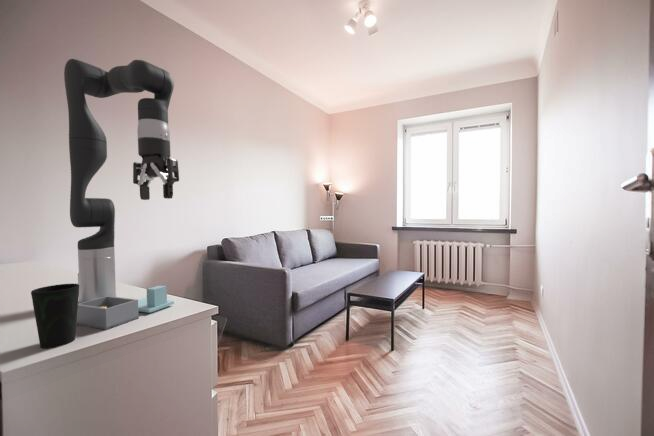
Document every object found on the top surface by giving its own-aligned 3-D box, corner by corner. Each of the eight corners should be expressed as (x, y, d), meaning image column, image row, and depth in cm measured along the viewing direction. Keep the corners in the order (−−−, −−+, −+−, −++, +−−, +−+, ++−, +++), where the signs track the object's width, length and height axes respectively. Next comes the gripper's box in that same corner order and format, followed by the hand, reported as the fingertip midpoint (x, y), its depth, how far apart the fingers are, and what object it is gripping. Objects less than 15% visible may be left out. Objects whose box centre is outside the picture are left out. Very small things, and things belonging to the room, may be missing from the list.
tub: (75, 324, 74) (74, 304, 73) (108, 313, 81) (107, 295, 81) (106, 329, 69) (105, 309, 69) (138, 318, 77) (138, 299, 77)
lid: (119, 311, 84) (119, 288, 84) (145, 302, 91) (144, 282, 91) (149, 315, 80) (149, 291, 79) (174, 306, 87) (173, 284, 87)
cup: (77, 332, 68) (75, 281, 68) (85, 340, 63) (83, 286, 63) (30, 344, 62) (28, 288, 62) (35, 354, 58) (33, 294, 57)
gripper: (122, 139, 78) (124, 199, 78) (161, 132, 73) (163, 197, 73) (148, 145, 85) (150, 200, 85) (185, 139, 80) (187, 198, 80)
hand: (156, 199), depth 79 cm, fingers open, 8 cm apart
